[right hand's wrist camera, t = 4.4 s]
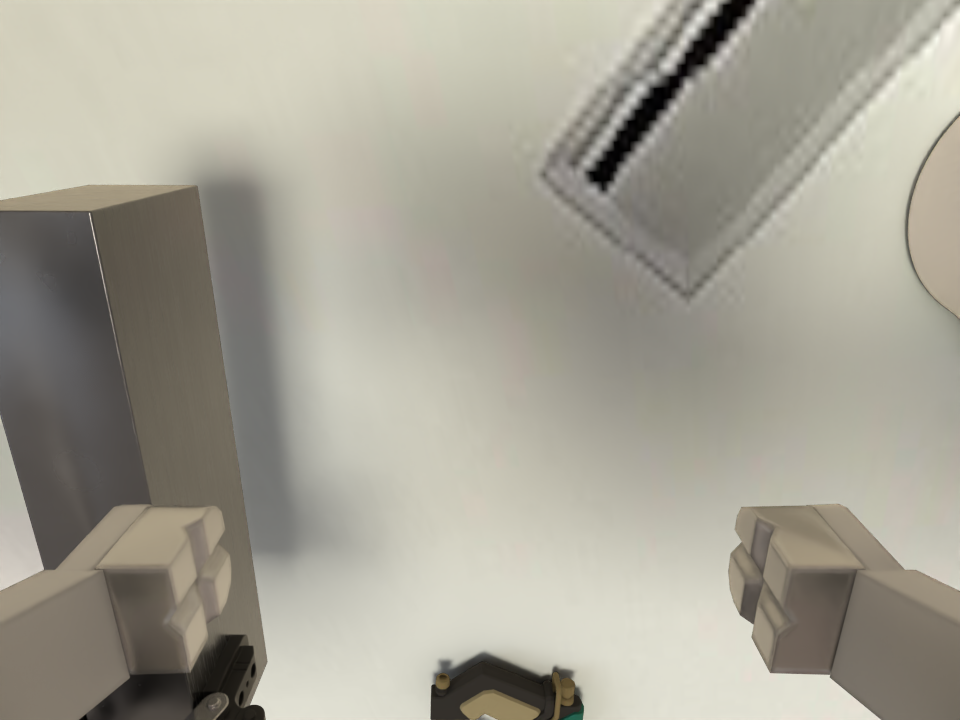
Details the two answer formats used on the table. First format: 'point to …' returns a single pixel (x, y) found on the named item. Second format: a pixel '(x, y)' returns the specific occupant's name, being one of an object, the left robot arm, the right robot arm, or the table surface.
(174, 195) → the bar
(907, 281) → the table surface
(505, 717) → the spray gun
